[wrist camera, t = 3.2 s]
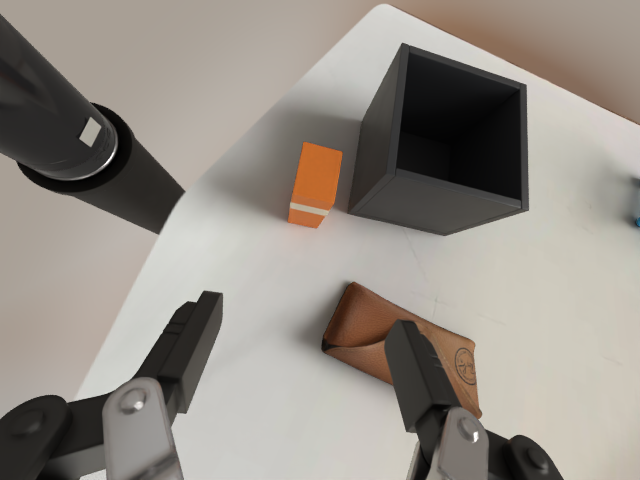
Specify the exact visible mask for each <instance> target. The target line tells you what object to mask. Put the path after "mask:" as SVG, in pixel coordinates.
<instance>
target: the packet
mask: <svg viewBox="0 0 640 480" xmlns="http://www.w3.org/2000/svg"><path fill="white" fill-rule="evenodd" d="M342 155H343V152H342V151H338V150H334V149H330V148H327V147H323V146H319V145H315V144H311V143H308V142H303V146H302V151H301V155H300V159H299V164H298V169H297V173H296V178H295V183H294V187H293V192H292V197H291V201H290V211H289V217H288V222H289V223H294V224H298V225H303V226H308V227H312V228H318V226H319V225H320V223H321V222H322V220H323V219H324V217H325V216H327V214H328V213H329V211H330V209H331V207H332V206H333V204H334V202H335V196H336V190H337V184H338V178H339V172H340V166H341V161H342Z"/></svg>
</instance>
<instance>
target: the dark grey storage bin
mask: <svg viewBox="0 0 640 480" xmlns="http://www.w3.org/2000/svg"><path fill="white" fill-rule="evenodd" d="M526 211H529V187H528V135H527V85H526V84H523V83H519V82H517V81H514V80H511V79H508V78H505V77H502V76H499V75H496V74H493V73H490V72H487V71H484V70H481V69H478V68H475V67H473V66H470V65H467V64H464V63H461V62H458V61H455V60H452V59H449V58H446V57H443V56H440V55H437V54H434V53H431V52H428V51H425V50H422V49H419V48H416V47H413V46H409V45H408V44H405V43H402V44H401V46H400V48H399V50H398V52H397V53H396V55H395V57H394V59H393V61H392V63H391V65H390V67H389V69H388V71H387V73H386V75H385V77H384V79H383V81H382V83H381V85H380V87H379V89H378V91H377V92H376V94H375V96H374V98H373V100H372V102H371V104H370V106H369V108H368V110H367V112H366V114H365V116H364V118H363V120H362V124H361V130H360V137H359V143H358V150H357V156H356V162H355V169H354V175H353V182H352V188H351V194H350V201H349V207H348V214H352V215H356V216H360V217H365V218H369V219H373V220H378V221H382V222H387V223H391V224H395V225H400V226H404V227H408V228H413V229H417V230H422V231H426V232H430V233H435V234H439V235H444V236H447V235H450V234H453V233H457V232H460V231H463V230H467V229H470V228H473V227H476V226H480V225H483V224H486V223H490V222H493V221H496V220H499V219H503V218H506V217H509V216H513V215H516V214H519V213H522V212H526Z"/></svg>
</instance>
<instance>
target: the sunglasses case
mask: <svg viewBox="0 0 640 480" xmlns="http://www.w3.org/2000/svg"><path fill="white" fill-rule="evenodd" d="M397 319H401V320H408V321H414V322H415V323H416V325H417V327H418V329H419V331H420V333H421V334H424V335H425V336H426V337H427V338H428V340H429V341H430V342H431V343H432V344H433V346H434V348H435V350H436V352H437V355H438V358H439V359H440V361H441V363H442V365H443V366H442V367H443V368H444V369H445V372H446V374H447V376H448V378H449V380H450V382H451V384H452V386H453V389H454V391H455V393H456V395H457V397H458V399H459V401H460V403H461V405H462V407H463V408H464V409H466V410H467V411H469V412H470V413H472V414H473V415H474V416H475V417H476V418H477V419H480V418H481V416H482V412H481V410H480V409H479V402H478V393H477V382H476V372H475V363H474V348H475V343H474V341H472V340H470V339H468V338H465V337H463V336H460V335H458V334H455V333H453V332H451V331H448V330H446V329H444V328H441V327H439V326H437V325H435V324H433V323H431V322H429V321H427V320H425V319H423V318H421V317H419V316H417V315H415V314H413V313H411V312H409V311H407V310H405V309H403V308H401V307H399V306H397V305H395V304H393V303H391V302H389V301H388V300H386V299H384V298H382V297H380V296H379V295H377V294H375V293H374V292H372V291H370V290H369V289H367V288H365V287H364V286H362V285H360V284H358V283H356V282H352V283H351V284H349V285H348V286H347V288H346V290H345V292H344V294H343V296H342V298H341V300H340V302H339V304H338V306H337V308H336V310H335V312H334V314H333V316H332V318H331V320H330V322H329V324H328V327H327V329H326V331H325V333H324V335H323V340H322V348H321V349H322V351H323V352H324V353H326V354H328V355H330V356H332V357H334V358H336V359H338V360H340V361H342V362H344V363H346V364H348V365H350V366H352V367H354V368H356V369H358V370H361V371H363V372H365V373H367V374H369V375H371V376H373V377H376V378H378V379H380V380H382V381H385V382H387V383H389V384H391V385H393V381H392V377H391V374H390V370H389V366H388V363H387V359H386V355H385V351H384V343H385V339H386V337H387V335H388V333H389V332H390V330H391V328H392V326H393V325H394V323H395V321H396V320H397ZM393 386H394V385H393Z"/></svg>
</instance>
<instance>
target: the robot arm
mask: <svg viewBox="0 0 640 480" xmlns="http://www.w3.org/2000/svg"><path fill="white" fill-rule="evenodd" d="M119 150H120V137H119V134H118V132H117V130H116V128H115V127H114V125H113V124H112V123H111V122H110V121H109V120H108V119H107V118H106V117H105V116H104V115H102V114H101V113H100V112H99V111H98V110H97V109H96V108H95V107H94V106H93V105H92V104H91V103H90V102H89V101H88V100H87V99H86V98H85V97H84V96H83V95H82V94H81V93H80V92H79V91H78V90H77V89H76V88H75V87H73V85H72V84H71V83H69V82H68V81H67V79H66V78H65V77H64V76H63V75H62V74H61V73H60V72H59V71H58V70H57V69H56V68H54V67H53V66H52V65H51V64H50V63H49V62H48V61H47V60H46V59H45V58H44V57H43V56H42V55H41V54H40V53H39V52H38V51H37V50H36V49H35V48H34V47H33V46H32V45H31V44H30V43H29V42H28V41H27V40H26V39H25V38H24V37H23V36H22V35H21V34H20V33H19V32H18V31H17V30H16V29H15V28H14V27H13V26H12V25H11V24H10V23H9V22H8V21H7V20H6V19H5V18H4V17H3V16H2V15H1V14H0V153H2V154H4V155H6V156H8V157H10V158H12V159H14V160H16V161H18V162H20V163H22V164H24V165H26V166H28V167H30V168H32V169H34V170H35V171H37V172H39V173H40V174H42V175H44V176H46V177H49V178H51V179H54V180H58V181H63V182H79V181H84V180H88V179H91V178H94V177H96V176H98V175H100V174H102V173H103V172H105V171H106V170H107V169H108V168H109V167H110V166H111V165H112V164H113V163H114V161H115V160H116V158H117V156H118V154H119ZM222 316H223V293H218V292H211V291H203V292H202V294H201V296H200V298H199V299H198V301H197V303H196V302H189V301H187V302H186V303H185V304H184V305H182V306H181V307H180V308H178V309H177V310H176V311H175V313H174V315H173V316H172V318H171V319H170V321H169V324H167V326H166V327H165V329H164V330H163V333H162V334H161V335H160V337H159V338H158V340H157V341H156V343H155V345H154V346H153V348H152V349H151V351H150V352H149V354H148V356H147V357H146V359H145V360H144V362H143V364H142V365H141V367H140V368H139V370H138V371H137V373H136V374H135V375H134V376H133V377H132V378H131V379H130V380H129V381H128V382H126V383H124V384H122V385H121V386H120V387H118V388H117V389H116V390H114V391H112V392H110V393H107V394H104V395H101V396H96V397H92V398H87V399H82V400H78V401H73V402H69V403H66V401H65V400H64V399H63V398H62V397H60V396H57V395H45V396H40V397H37V398H33V399H31V400H28V401H26V402H24V403H22V404H20V405H19V406H17V407H16V408H14V409H12V410H11V411H10V412H8V413H7V414H6V415H5V416H3V417H2V418H1V419H0V480H79V479H80V477H81V476H84V475H87V474H91V473H94V472H97V471H100V470H103V469H106V476H107V480H184V478H183V474H182V470H181V466H180V462H179V458H178V454H177V451H176V447H175V442H174V438H173V434H172V430H171V426H172V424H173V422H174V419H175V417H176V415H177V413H184V414H186V413H187V411H188V408H189V406H190V403H191V400H192V398H193V395H194V393H195V390H196V388H197V385H198V383H199V380H200V378H201V375H202V373H203V370H204V368H205V365H206V363H207V360H208V358H209V355H210V353H211V350H212V348H213V345H214V343H215V340H216V338H217V335H218V333H219V330H220V327H221V323H222ZM384 351H385V355H386V359H387V363H388V366H389V370H390V374H391V377H392V381H393V385H394V389H395V392H396V396H397V400H398V403H399V407H400V411H401V414H402V418H403V422H404V425H405V429H406V432H410V433H417V435H418V438H419V440H418V442H417V444H416V447H415V450H414V454H413V457H412V461H411V464H410V468H409V471H408V475H407V478H406V480H564V479H563V478H562V476H561V474H560V473H559V471H558V469H557V468H556V466H555V464H554V463H553V461H552V460H551V458H550V457H549V456H548V454H547V453H546V452H545V451H544V450H543V449H542V448H541V447H540V446H539V445H538V444H537V443H536V442H534V441H533V440H531V439H530V438H528V437H526V436H523V435H516V436H514V437H513V438H511V439H510V440H508V439H506V438H504V437H501V436H499V435H497V434H495V433H493V432H491V431H488V430H486V429H484V427H483V426H482V424H481V423H480V421H479V420H478V419H477V418H476V417H475V416H474V415H473V414H472V413H470V412H469V411H467V410H466V409H464V408H463V407H462V405H461V403H460V401H459V399H458V397H457V395H456V393H455V391H454V389H453V386H452V384H451V382H450V380H449V378H448V376H447V374H446V372H445V369H444V368H443V367H442V366H443V365H442V363H441V361H440V359H439V358H438V355H437V352H436V350H435V348H434V346H433V344H432V343H431V342H430V341H429V340H428V338H427V337H426V336H425V335H424V334H421V333H420V331H419V329H418V327H417V325H416V323H415V322H414V321H408V320H401V319H397V320H396V321H395V323H394V325H393V326H392V328H391V330H390V332H389V333H388V335H387V337H386V339H385V343H384Z"/></svg>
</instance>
